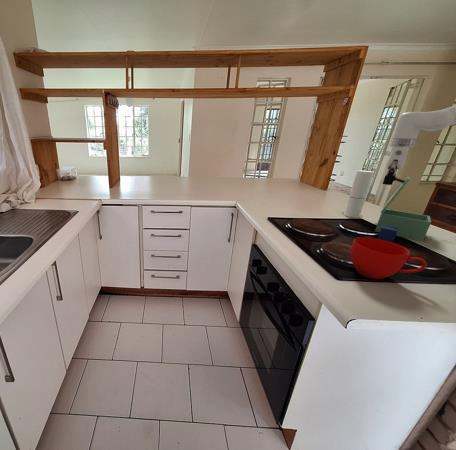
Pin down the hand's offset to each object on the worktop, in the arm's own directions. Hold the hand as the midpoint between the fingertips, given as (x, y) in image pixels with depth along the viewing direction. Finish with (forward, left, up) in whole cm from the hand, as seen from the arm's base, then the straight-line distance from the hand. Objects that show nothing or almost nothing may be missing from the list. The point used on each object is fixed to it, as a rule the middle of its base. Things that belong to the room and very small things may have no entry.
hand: (387, 183), depth 108 cm
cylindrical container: (+17, -9, -22) cm, 29 cm away
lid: (-4, -2, -5) cm, 6 cm away
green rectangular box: (-8, -5, -22) cm, 24 cm away
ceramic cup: (-34, +46, -22) cm, 62 cm away
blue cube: (-12, +9, -22) cm, 27 cm away
